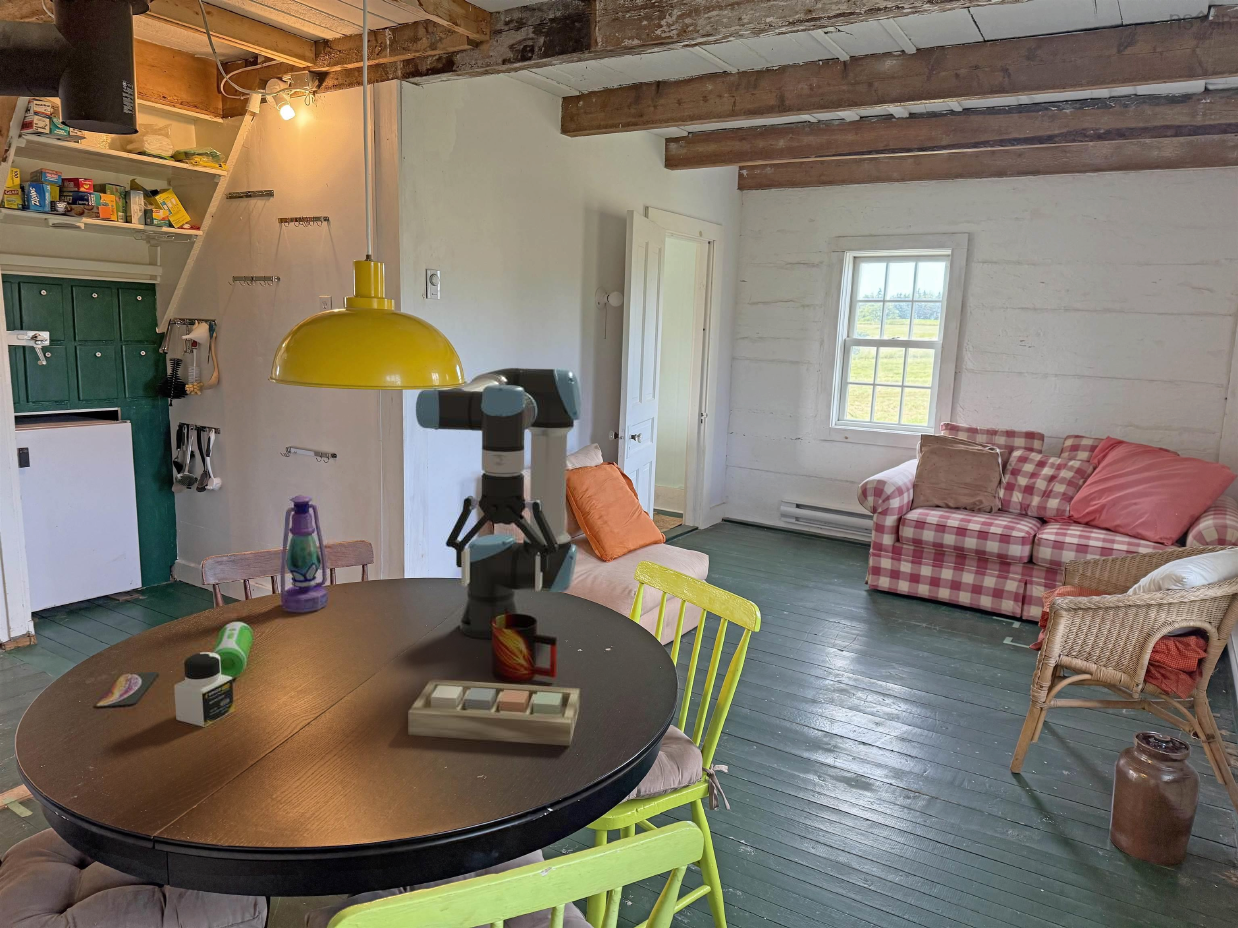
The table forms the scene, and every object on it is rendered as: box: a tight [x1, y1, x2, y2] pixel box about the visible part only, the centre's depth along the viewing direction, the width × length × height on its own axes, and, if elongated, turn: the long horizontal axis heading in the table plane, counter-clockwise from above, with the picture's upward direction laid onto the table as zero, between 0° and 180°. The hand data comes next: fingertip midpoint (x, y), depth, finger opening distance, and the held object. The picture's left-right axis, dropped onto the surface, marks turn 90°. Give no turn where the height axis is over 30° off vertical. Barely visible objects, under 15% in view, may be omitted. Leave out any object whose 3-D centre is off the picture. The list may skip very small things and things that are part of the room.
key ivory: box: [431, 686, 463, 708], centre depth 155 cm, size 5×5×2 cm
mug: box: [491, 613, 558, 684], centre depth 176 cm, size 10×14×12 cm
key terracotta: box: [499, 690, 529, 713], centre depth 154 cm, size 5×5×2 cm
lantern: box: [280, 494, 329, 614], centre depth 210 cm, size 13×12×30 cm
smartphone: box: [93, 671, 160, 709], centre depth 163 cm, size 8×1×15 cm
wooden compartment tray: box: [407, 678, 581, 747], centre depth 155 cm, size 14×30×4 cm, turn 86°
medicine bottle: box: [173, 651, 235, 728], centre depth 153 cm, size 7×7×12 cm
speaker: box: [211, 621, 254, 680], centre depth 176 cm, size 18×7×8 cm, turn 18°
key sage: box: [533, 692, 562, 715], centre depth 154 cm, size 5×5×2 cm
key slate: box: [465, 688, 496, 710], centre depth 155 cm, size 5×5×2 cm
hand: (501, 586), depth 148 cm, fingers open, 13 cm apart
